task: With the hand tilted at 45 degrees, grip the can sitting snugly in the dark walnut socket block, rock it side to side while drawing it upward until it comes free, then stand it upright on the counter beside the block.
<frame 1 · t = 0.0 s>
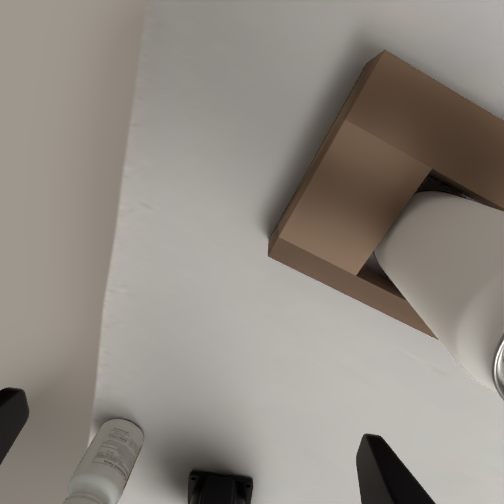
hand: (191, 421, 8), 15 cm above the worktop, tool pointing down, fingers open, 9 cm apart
pill bottle: (123, 431, 30), on the worktop
socket block: (420, 237, 21), on the worktop
can: (418, 236, 21), resting in socket block
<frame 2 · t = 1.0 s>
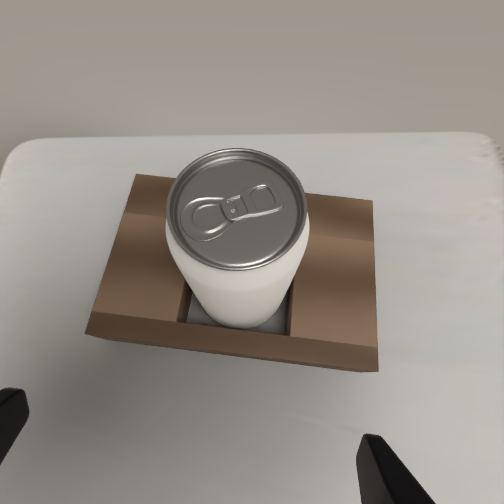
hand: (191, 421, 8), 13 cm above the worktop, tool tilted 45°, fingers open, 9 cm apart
socket block: (241, 286, 23), on the worktop
can: (241, 287, 23), resting in socket block
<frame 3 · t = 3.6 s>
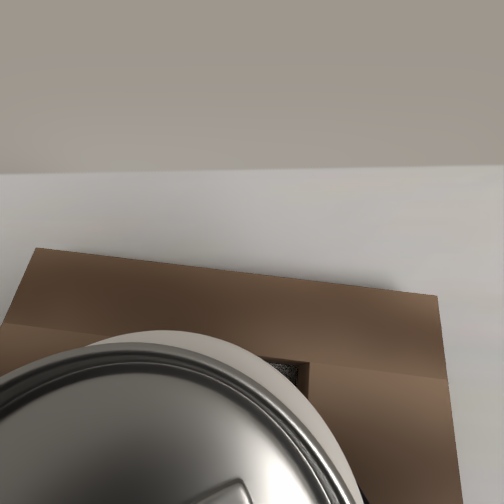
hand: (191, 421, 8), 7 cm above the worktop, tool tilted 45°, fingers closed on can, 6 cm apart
socket block: (212, 441, 14), on the worktop
can: (212, 440, 14), resting in socket block, touching gripper
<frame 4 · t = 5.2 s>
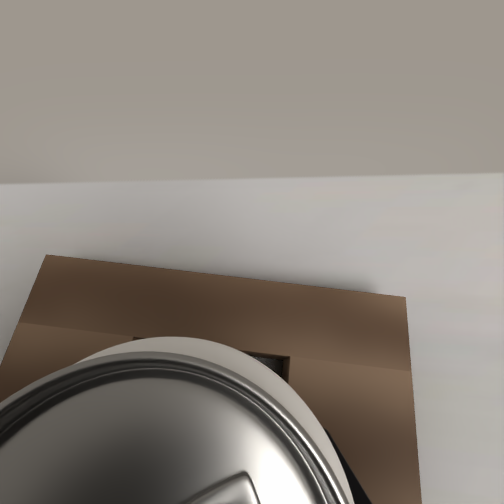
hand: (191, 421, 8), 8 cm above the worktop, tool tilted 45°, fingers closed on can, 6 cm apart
socket block: (205, 427, 15), on the worktop
can: (210, 434, 14), point 1 cm above the worktop, touching gripper
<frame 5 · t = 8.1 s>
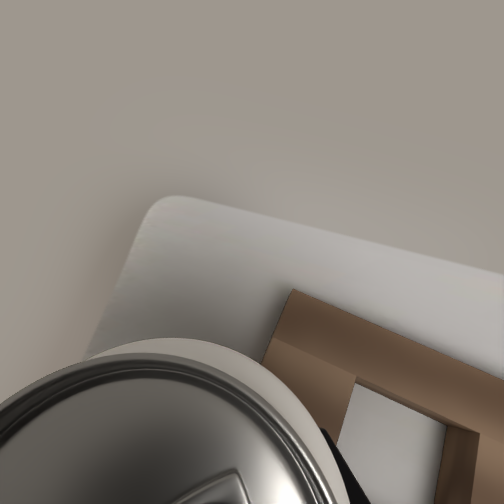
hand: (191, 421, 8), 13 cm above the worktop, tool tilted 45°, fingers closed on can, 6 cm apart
socket block: (379, 458, 19), on the worktop
can: (219, 433, 14), point 6 cm above the worktop, touching gripper
when the fingers open (8 cm above the worktop, at t = 10.8 s): can stays where it is, on the worktop.
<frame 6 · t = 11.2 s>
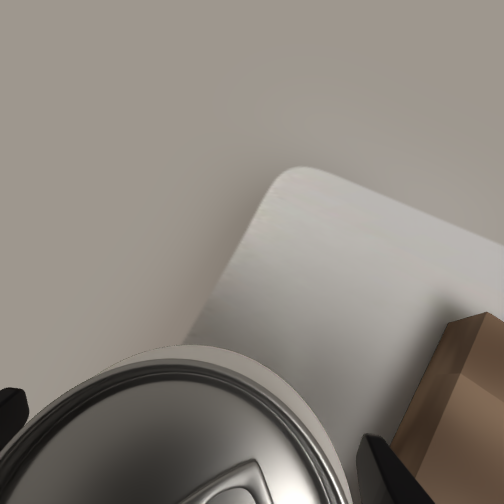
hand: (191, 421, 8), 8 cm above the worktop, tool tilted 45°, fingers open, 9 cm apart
can: (220, 436, 15), on the worktop
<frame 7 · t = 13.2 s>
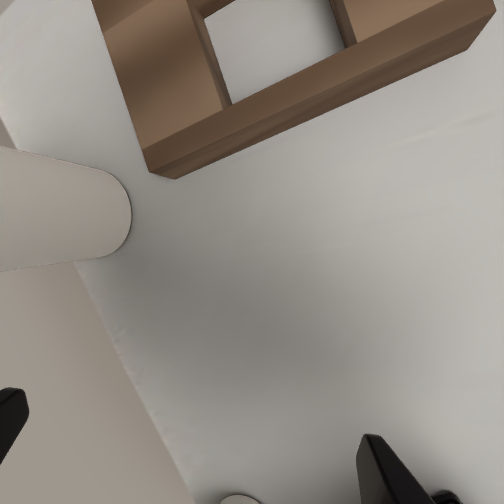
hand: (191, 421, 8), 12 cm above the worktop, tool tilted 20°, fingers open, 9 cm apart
socket block: (274, 44, 18), on the worktop
can: (99, 214, 23), on the worktop
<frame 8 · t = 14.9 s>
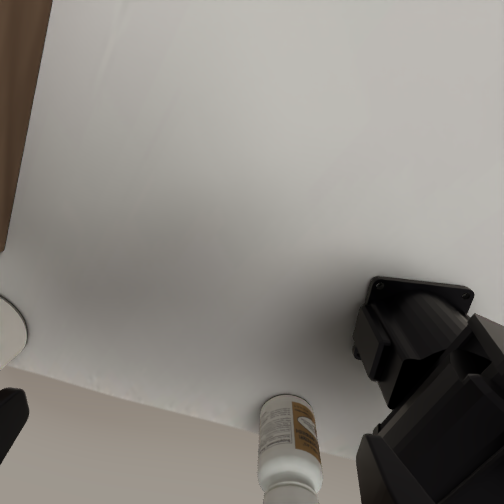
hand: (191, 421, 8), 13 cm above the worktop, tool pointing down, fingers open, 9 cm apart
pill bottle: (286, 410, 25), on the worktop
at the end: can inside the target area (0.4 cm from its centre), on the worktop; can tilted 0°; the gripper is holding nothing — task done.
